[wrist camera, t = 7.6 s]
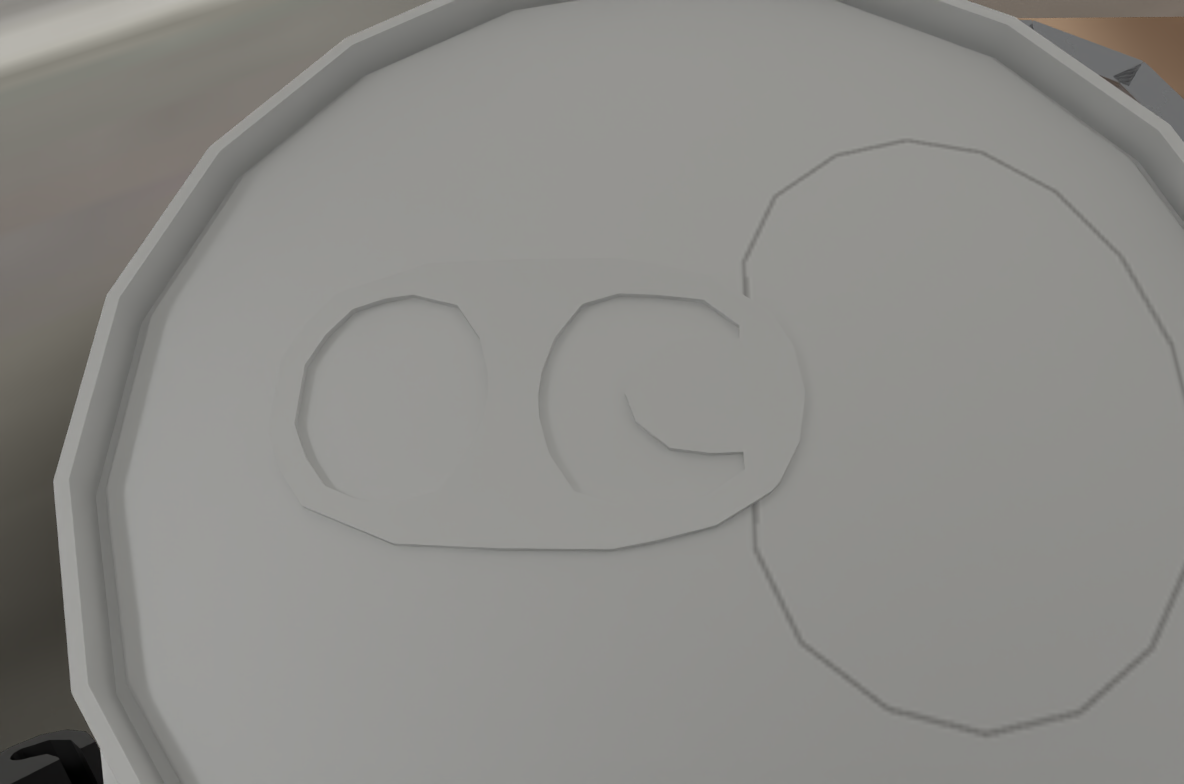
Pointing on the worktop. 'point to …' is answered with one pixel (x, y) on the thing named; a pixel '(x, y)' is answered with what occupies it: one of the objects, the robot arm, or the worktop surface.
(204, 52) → the worktop surface
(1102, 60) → the steel collar
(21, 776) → the robot arm
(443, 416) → the supplement can
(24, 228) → the worktop surface
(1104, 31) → the seat plate
